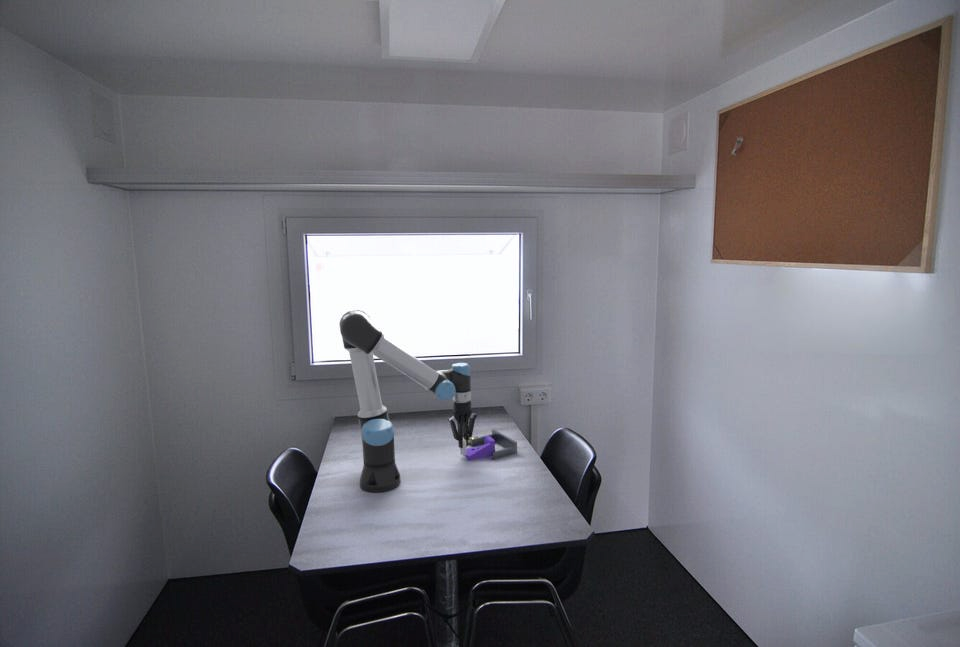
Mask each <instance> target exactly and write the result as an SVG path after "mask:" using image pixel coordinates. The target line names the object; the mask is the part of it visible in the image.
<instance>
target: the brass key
mask: <svg viewBox="0 0 960 647" xmlns="http://www.w3.org/2000/svg"><path fill="white" fill-rule="evenodd" d="M478 437H479V436H477V435H476V436H472V437H470V438H469V440H468V445H471V439H474V438H478Z"/></svg>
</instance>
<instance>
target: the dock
mask: <svg viewBox="0 0 960 647" xmlns="http://www.w3.org/2000/svg"><path fill="white" fill-rule="evenodd" d="M488 436H490V437H492V438H493V439H494V440H495V444H498V445H499V446H501V447H503V448H502V449H499V450H495V451H494V452H492V456H491V460H494V461H495V460H499V459H502V458H505V457H508V456H513V455H515V454H517V453H518V442H517V441H515V440H514V439H512V438H510V437H509V436H507V435H505V434H503V433H501V432H500V431H498V430H496V429H491V434H487V435H484V436H483V435H482V436H477V437H478V438H474V439H471V444H470V446H471V447H477V446H479V445H480V446H481V445H482V444H484V445H485V437H488Z"/></svg>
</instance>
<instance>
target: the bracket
mask: <svg viewBox="0 0 960 647" xmlns="http://www.w3.org/2000/svg"><path fill="white" fill-rule="evenodd" d="M466 451H467V455H465V458H466V459H467V460H468V461H471V460H477V459H483V458H489V457H492V452H494V451H496V443H495V440H494V439H493V438H492V437H490V436H488V437H485V443H484V445H480V446H479V445H478V446H472V447H469V448H468V447H466Z"/></svg>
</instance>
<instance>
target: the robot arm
mask: <svg viewBox="0 0 960 647" xmlns="http://www.w3.org/2000/svg"><path fill="white" fill-rule="evenodd" d="M339 331H340V335H341V338H342V343H343V348H344V349H345V350H346V351H348V352H349V357H350V363H351V367H352V373H353V378H354V383H355V388H356V393H357V398H358V404H359V408H360V409H359V411H358V412H357V419H358V423H359V424H358V425H359V430H360V435H361V444H362V456H363V457H362V458H363V460H362V461H363V466H362V470H361V472H360V477H359V486H360V489H362V490H363V491H365V492H368V493H384V492H388V491H391V490H394V489H395V488H397V487H398V486H400V484H401V473H400V471H399V469H398V467H397V463H396V452H395V428H394V425H393V423H392V422H391V421H390V418H389V413H388V408H387V406H386V405H383V401H382V397H381V391H380V386H379V381H378V375H377V369H376V364H375V359H374V356H375V357H376V358H378V359H380V360H381V361H383V362H384V363H386V364H387V365H388V366H390V367H392V368H393V369H395V370H397V371H398V372H400V373H401V374H403V375H405V376H406V377H408V378H409V379H411V380H412V381H414V382H415V383H417V384H418V385H420V386H421V387H423V388H424V390H425V391H429V392H431V393H432V394H433V395H435V396H436V397H437V399H439V400H441V401H444V402H446V401H447V402H448V401H450V400H452V404H453V405H452V406H453V407H452V409H453V413H452V417H450V418H449V417H448V419H447V421H448V422H449V425H450V428H451V431H452V436H453V438H454V439H455V440H456V441H457V443H458V448H460V449H459V451H460V455H462V456H465V455H467V451H466V449H467V448H468V446H469V444H468V440H469V438H470V437H471V438H473V433H474V429H475V428H474V427H475V421H476V419H477V416H478V414H476V413H474V412H473V411H472V401H471V400H472V386H471V385H472V384H471V382H472V381H471V380H472V379H471V376H472V374H471V366H470V364H469V363H467V362H457V363H453V364H452V365H451V368H449V369H442V370H441V369H440V370H435V369H433V368H432V367H431V366H429V365H427V364H426V363H425V362H423V361H421V360H420V359H418V358H417V357H415V356H414V355H413V354H411V353H409V352H408V351H406V350H405V349H403V348H402V347H400V346H398V344H396V343H395V342H393V341H391V340H390V339H388V338H387V337H386V336H385V334H384V332H383V331H382V330H380V329H378V328H377V327H376V325H374V324H373V323H372V320H371V317H370V316H369V315H368V313H366V312H365V311H362V310H359V309H351V310H348V311H347V312H345V313H344V314H343V315H342V317H341V318H340V320H339ZM455 422H456V423H455Z"/></svg>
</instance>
